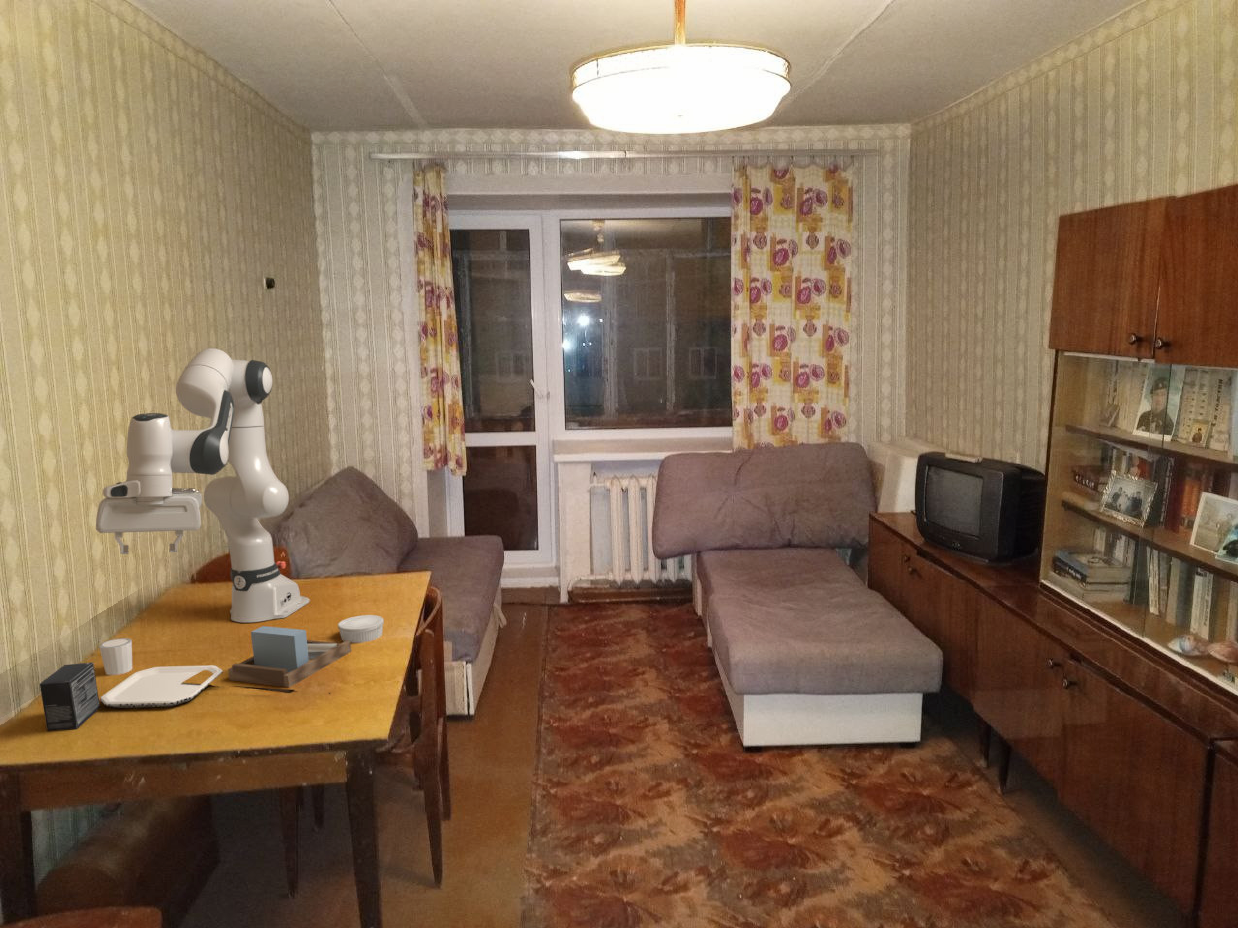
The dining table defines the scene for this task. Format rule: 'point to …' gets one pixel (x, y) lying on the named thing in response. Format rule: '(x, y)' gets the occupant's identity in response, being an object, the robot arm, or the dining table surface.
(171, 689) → the plate
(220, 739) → the dining table surface
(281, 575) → the robot arm
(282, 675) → the frame
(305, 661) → the slate blue block
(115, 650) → the white cup
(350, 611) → the dining table surface
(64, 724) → the small box
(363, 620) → the ramekin
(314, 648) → the offcut upper
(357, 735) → the dining table surface
